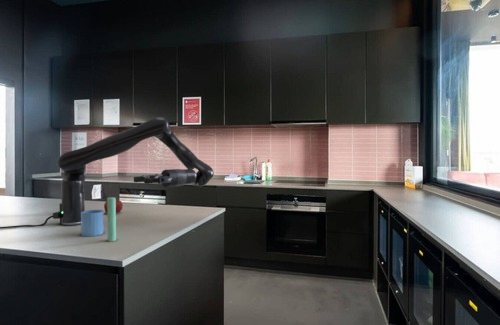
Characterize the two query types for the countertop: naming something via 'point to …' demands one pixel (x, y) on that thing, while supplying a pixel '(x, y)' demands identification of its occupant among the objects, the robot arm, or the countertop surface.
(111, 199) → the mint green tapered cylinder
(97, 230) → the cup
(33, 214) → the countertop surface
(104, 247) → the countertop surface
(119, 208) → the tomato
